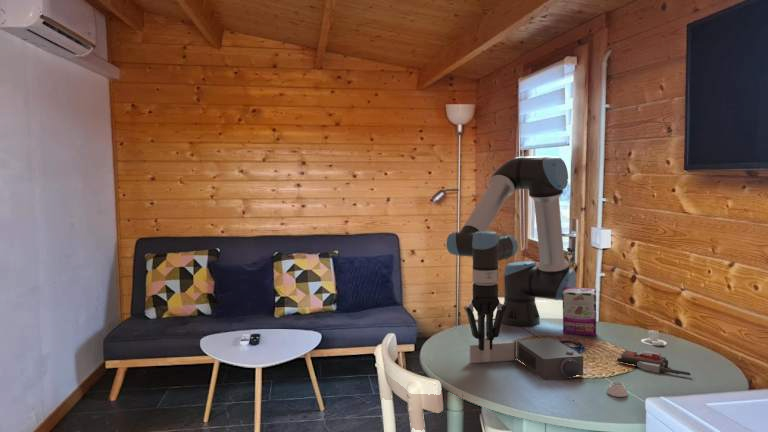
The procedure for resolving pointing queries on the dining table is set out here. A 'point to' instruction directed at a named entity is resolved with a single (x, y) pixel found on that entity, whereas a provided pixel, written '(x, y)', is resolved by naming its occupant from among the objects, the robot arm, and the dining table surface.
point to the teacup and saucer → (654, 339)
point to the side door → (494, 352)
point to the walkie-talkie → (648, 361)
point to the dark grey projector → (549, 358)
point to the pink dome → (617, 389)
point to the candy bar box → (579, 311)
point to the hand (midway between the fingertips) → (485, 360)
